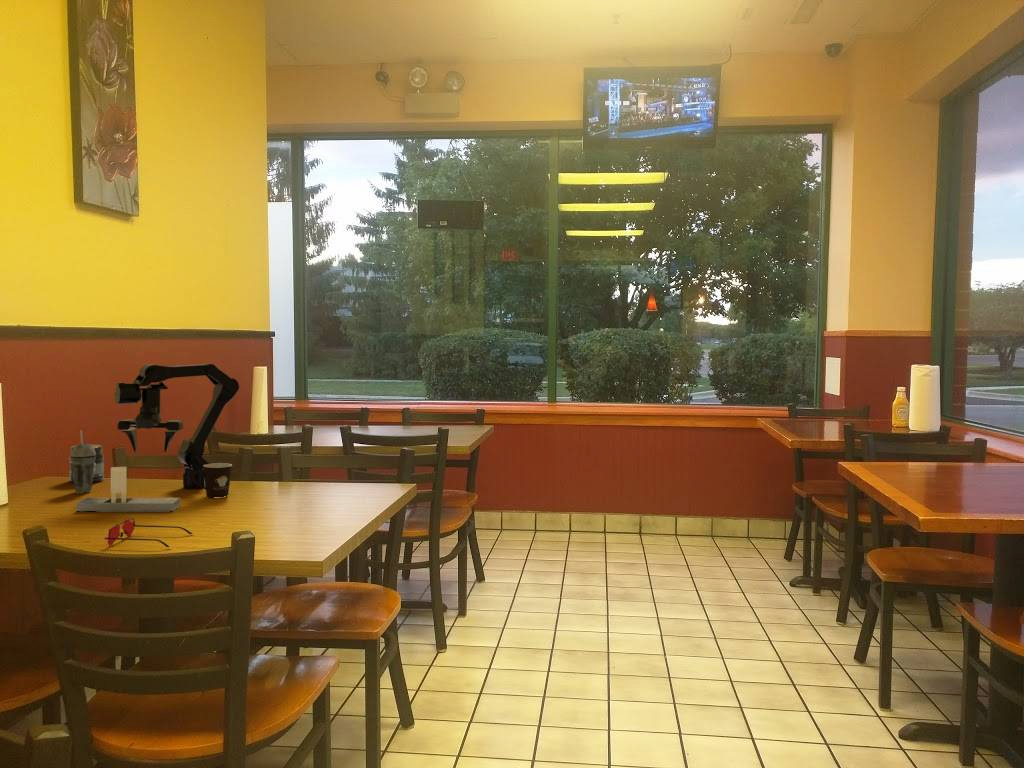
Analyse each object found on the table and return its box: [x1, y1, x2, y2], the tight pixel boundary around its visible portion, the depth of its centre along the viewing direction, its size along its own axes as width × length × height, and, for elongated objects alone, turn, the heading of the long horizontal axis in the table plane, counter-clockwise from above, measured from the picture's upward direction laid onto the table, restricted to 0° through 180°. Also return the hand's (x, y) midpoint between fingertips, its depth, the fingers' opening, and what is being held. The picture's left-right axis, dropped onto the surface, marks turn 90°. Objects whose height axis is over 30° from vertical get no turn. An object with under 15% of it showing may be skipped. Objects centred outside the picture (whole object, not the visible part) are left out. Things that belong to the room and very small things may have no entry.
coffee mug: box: [192, 462, 233, 499], centre depth 252 cm, size 12×9×10 cm
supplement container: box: [68, 444, 105, 484], centre depth 271 cm, size 10×10×12 cm
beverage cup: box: [69, 429, 96, 494], centre depth 253 cm, size 7×7×20 cm
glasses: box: [103, 518, 193, 548], centre depth 197 cm, size 14×16×5 cm
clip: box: [110, 466, 127, 503], centre depth 231 cm, size 4×4×12 cm
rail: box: [75, 497, 181, 513], centre depth 231 cm, size 26×8×2 cm, turn 98°
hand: (150, 451), depth 256 cm, fingers open, 9 cm apart
